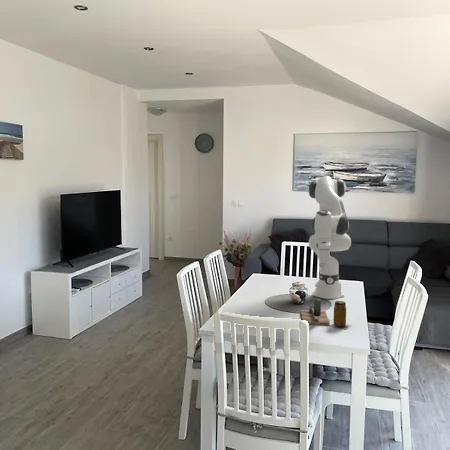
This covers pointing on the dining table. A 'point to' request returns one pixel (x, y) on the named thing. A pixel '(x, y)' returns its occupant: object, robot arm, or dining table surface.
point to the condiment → (340, 315)
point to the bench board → (310, 318)
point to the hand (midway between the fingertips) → (321, 268)
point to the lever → (316, 308)
